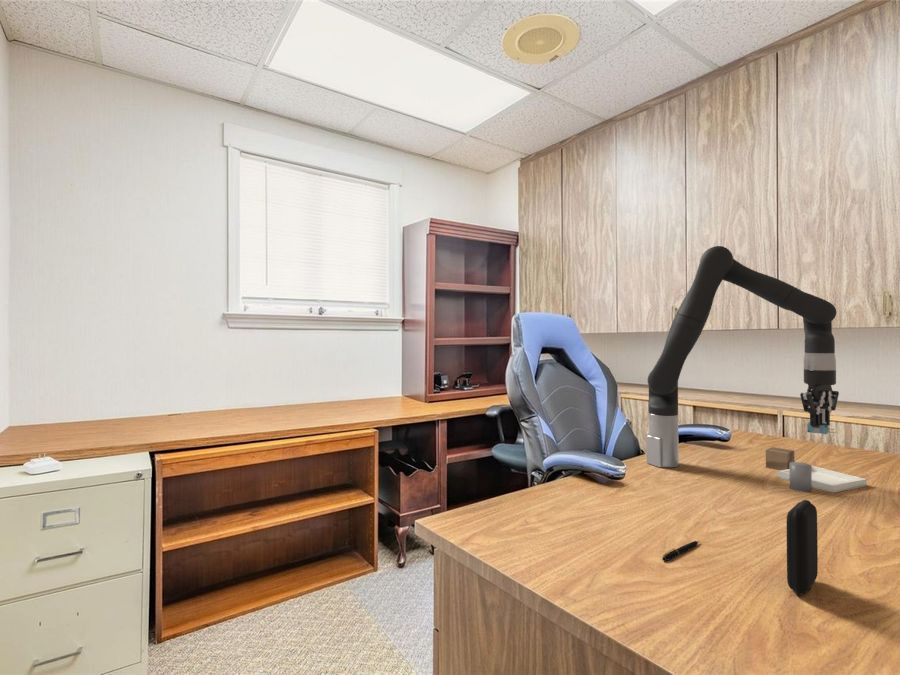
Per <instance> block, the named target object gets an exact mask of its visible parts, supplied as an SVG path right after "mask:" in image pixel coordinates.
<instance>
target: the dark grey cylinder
mask: <svg viewBox="0 0 900 675" xmlns="http://www.w3.org/2000/svg"><path fill="white" fill-rule="evenodd" d="M811 466H812V465H811V464H809V463H806V462H802V461H801V462H800V461H794V462H790V463H789V470H790V481H789V489H791V490H793V491H797V492H800V493H801V492H803V493H809V492H812V491H813V489H812V488H813V487H812V467H811Z"/></svg>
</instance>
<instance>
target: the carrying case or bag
mask: <svg viewBox="0 0 900 675" xmlns="http://www.w3.org/2000/svg"><path fill="white" fill-rule="evenodd" d="M818 551H819V550H818V511H817V507H816V506H815V505H814V504H812V502H811V501H810V500H807V499H803V500H801V501H799V502H797V503H796V504H795V505H794V506H793V507H792V508H790V510H789V511H788V512H787V514H786V580H787V581H786V582H787V584H788V588H790V590H792V592H793V593H795V594H796V595H798V596H799V595H800V596H801V595H802V594H805V593H807V592H809V590H810V589H811V588H812V585H813V584H814V582H816V580H817V577H818V574H819V573H818V571H819V569H818V566H819V565H818V564H819V563H818V562H819V561H818V560H819V559H818V557H819V556H818Z"/></svg>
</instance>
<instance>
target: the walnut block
mask: <svg viewBox="0 0 900 675" xmlns="http://www.w3.org/2000/svg"><path fill="white" fill-rule="evenodd" d="M790 462H795V450H794V449H788V448H781V447H776V446H772V447H769V448H767V449H765V468H767V469H771V470H775V471H780V470H786V469H789V463H790Z"/></svg>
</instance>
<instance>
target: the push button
mask: <svg viewBox="0 0 900 675" xmlns="http://www.w3.org/2000/svg"><path fill="white" fill-rule="evenodd" d="M814 403H818V402H814ZM825 403H826V402H825V400H823V406H822V407H821V408H820V413H819V415H820V426H819V427H813V426H811V425H810V420H808V422H807V428H806V429H807V430H806V431H807V433H810V434H812V433H813V434H819V435H820V434H821V435H827V434H828V433H831V434H832V433H833V434H835V433H836V432H835V431H834V430H836V429H835V428H829V426H828V425H827V424H826V422H825V409H827V408H828V405H829V403H826V404H825ZM807 406H808V408H809V405H807ZM815 410H816V406H815ZM821 410H822V417H821ZM823 423H825V424H823ZM829 430H832V431H829Z"/></svg>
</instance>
